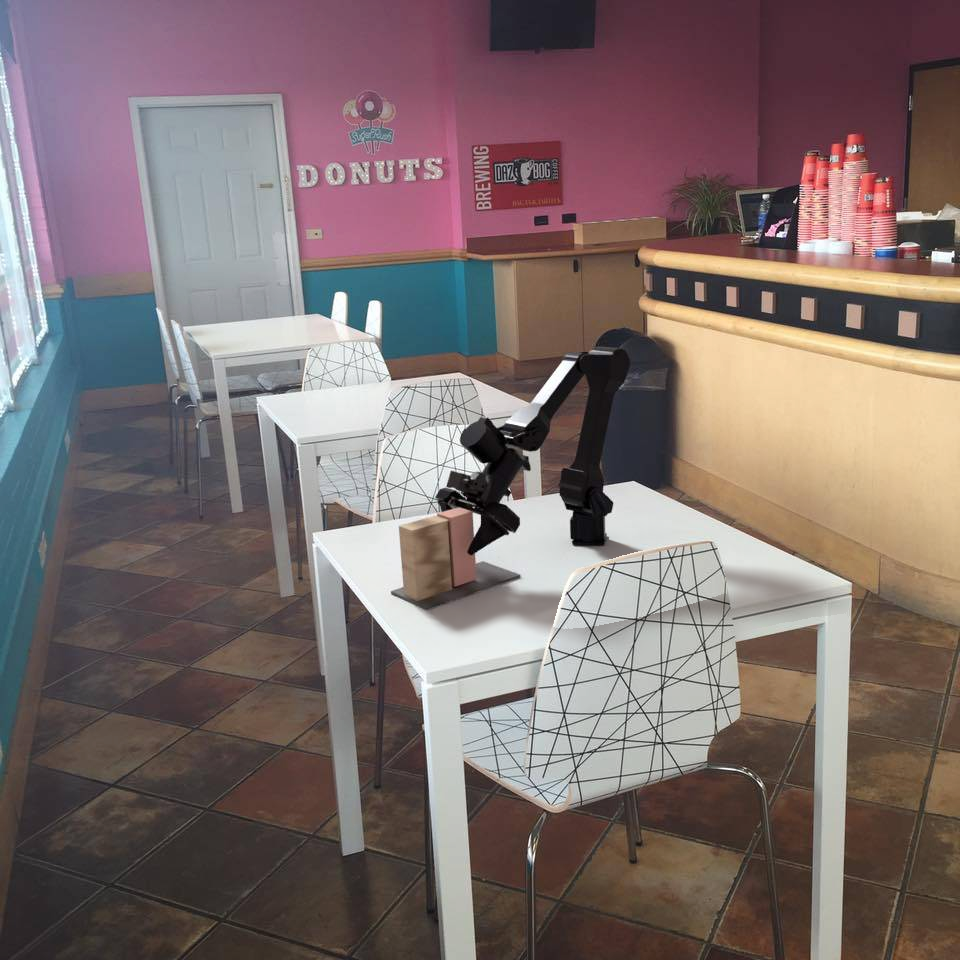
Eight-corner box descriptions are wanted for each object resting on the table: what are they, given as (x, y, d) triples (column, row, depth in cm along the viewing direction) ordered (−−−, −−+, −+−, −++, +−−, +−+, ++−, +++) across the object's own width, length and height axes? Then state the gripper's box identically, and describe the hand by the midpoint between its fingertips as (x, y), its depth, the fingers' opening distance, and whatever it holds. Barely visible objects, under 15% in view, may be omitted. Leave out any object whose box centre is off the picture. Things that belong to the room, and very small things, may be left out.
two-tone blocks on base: (483, 563, 199) (479, 496, 196) (520, 577, 191) (517, 507, 187) (390, 593, 186) (385, 522, 183) (426, 609, 178) (421, 535, 174)
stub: (463, 574, 192) (458, 507, 188) (476, 579, 189) (472, 511, 185) (441, 581, 189) (437, 513, 185) (455, 586, 186) (450, 517, 182)
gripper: (440, 445, 192) (395, 515, 189) (504, 461, 178) (458, 536, 175) (475, 477, 199) (433, 545, 195) (540, 495, 185) (496, 568, 181)
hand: (453, 548), depth 186 cm, fingers open, 9 cm apart
